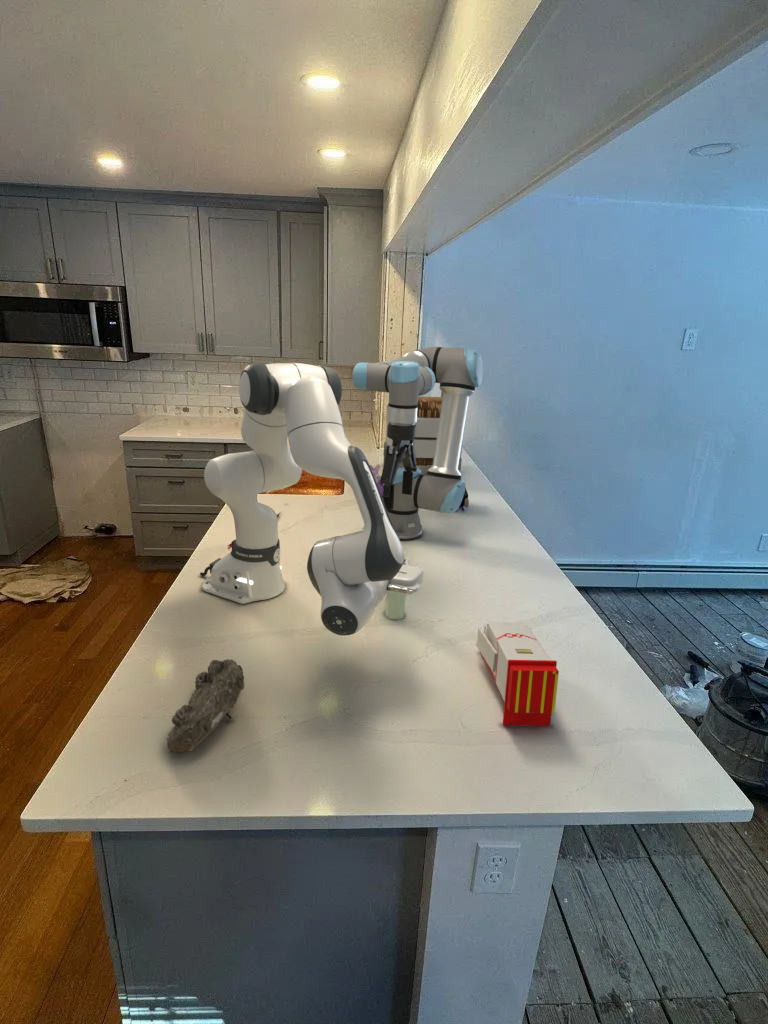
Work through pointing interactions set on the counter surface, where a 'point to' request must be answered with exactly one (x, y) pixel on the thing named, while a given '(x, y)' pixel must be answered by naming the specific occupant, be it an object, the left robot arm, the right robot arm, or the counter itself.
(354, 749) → the counter surface
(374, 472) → the figurine
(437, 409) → the grey slatted crate
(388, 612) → the jar
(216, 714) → the fossil
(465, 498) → the figurine character
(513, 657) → the toy
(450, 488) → the right robot arm
